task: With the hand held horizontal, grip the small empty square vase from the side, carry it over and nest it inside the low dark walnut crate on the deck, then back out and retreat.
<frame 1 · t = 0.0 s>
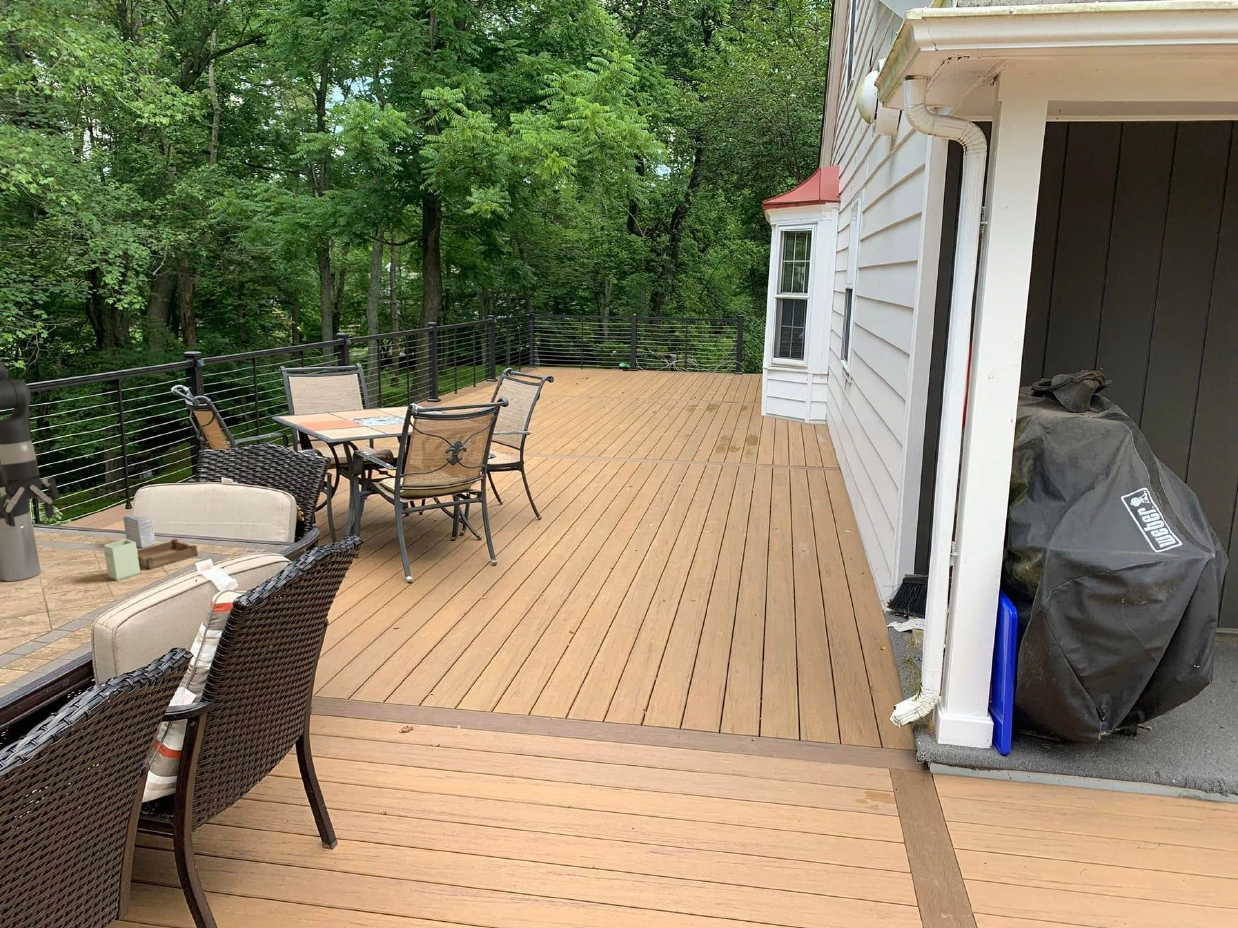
hand: (31, 522, 229), 17 cm above the table, tool pointing down, fingers open, 8 cm apart
walnut crate: (163, 558, 252), on the table
small square vase: (124, 575, 239), on the table
medicine box: (141, 545, 265), on the table
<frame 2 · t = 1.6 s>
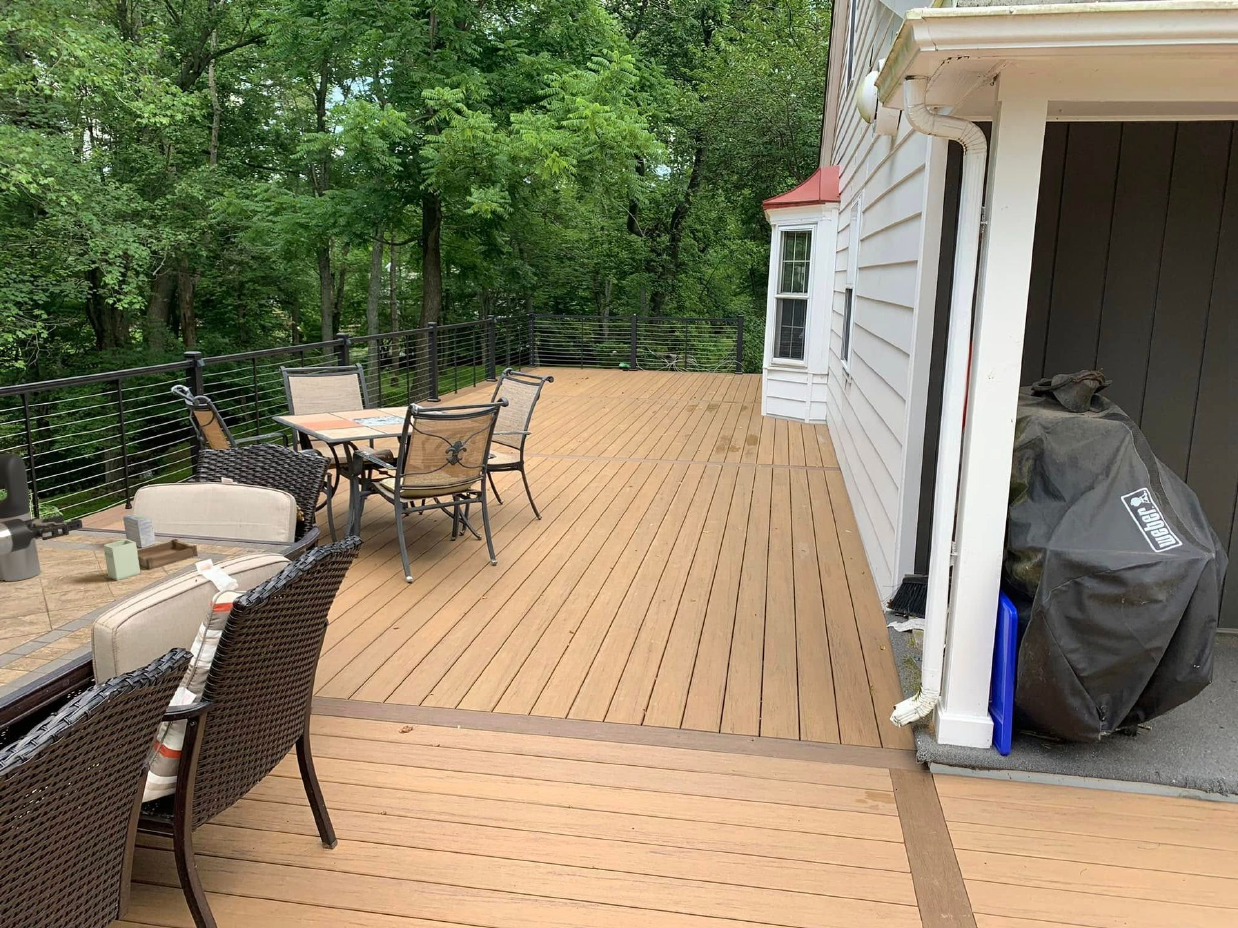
hand: (71, 521, 225), 18 cm above the table, tool horizontal, fingers open, 8 cm apart
nothing on the table moved.
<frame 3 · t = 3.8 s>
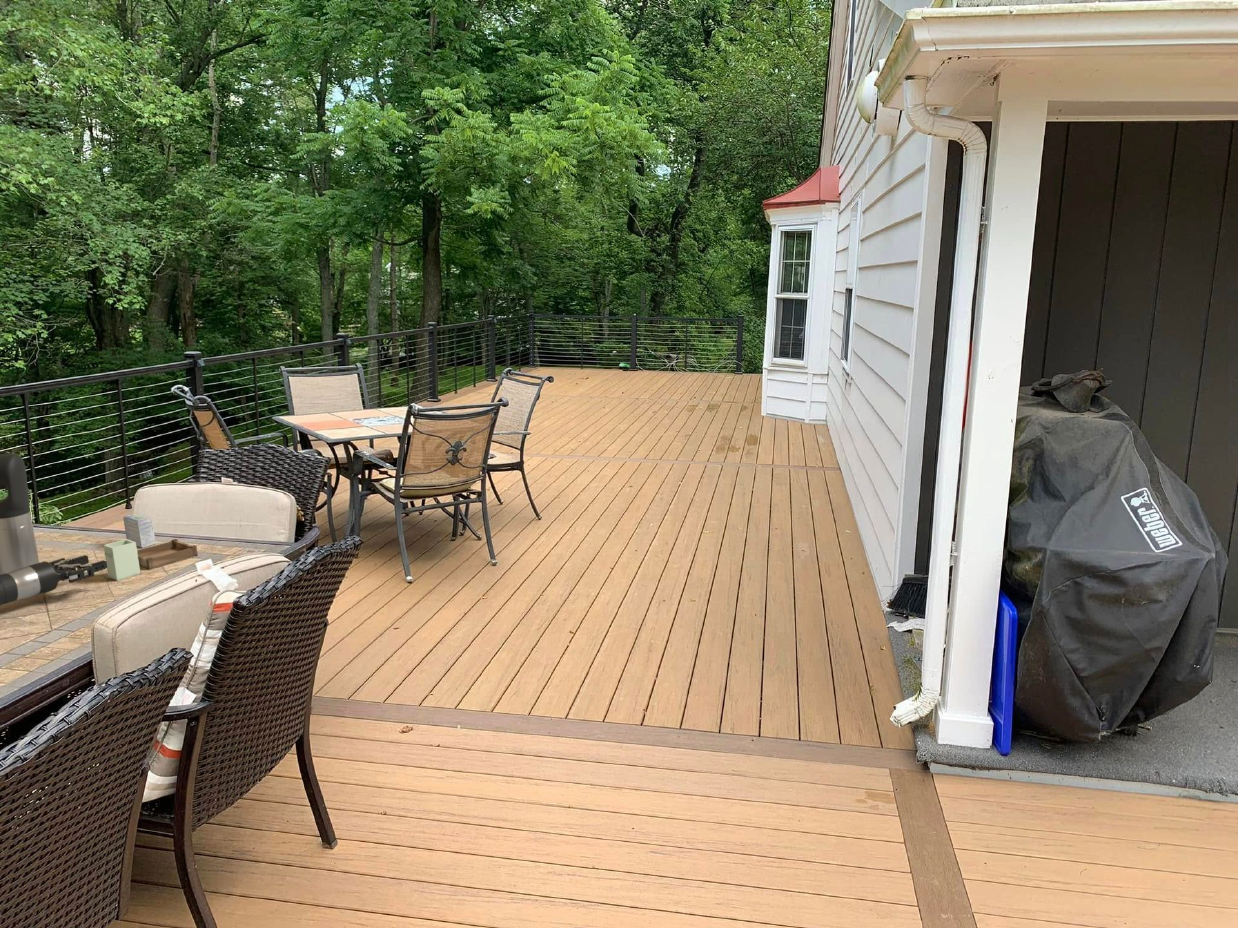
hand: (96, 561, 232), 6 cm above the table, tool horizontal, fingers open, 8 cm apart
nothing on the table moved.
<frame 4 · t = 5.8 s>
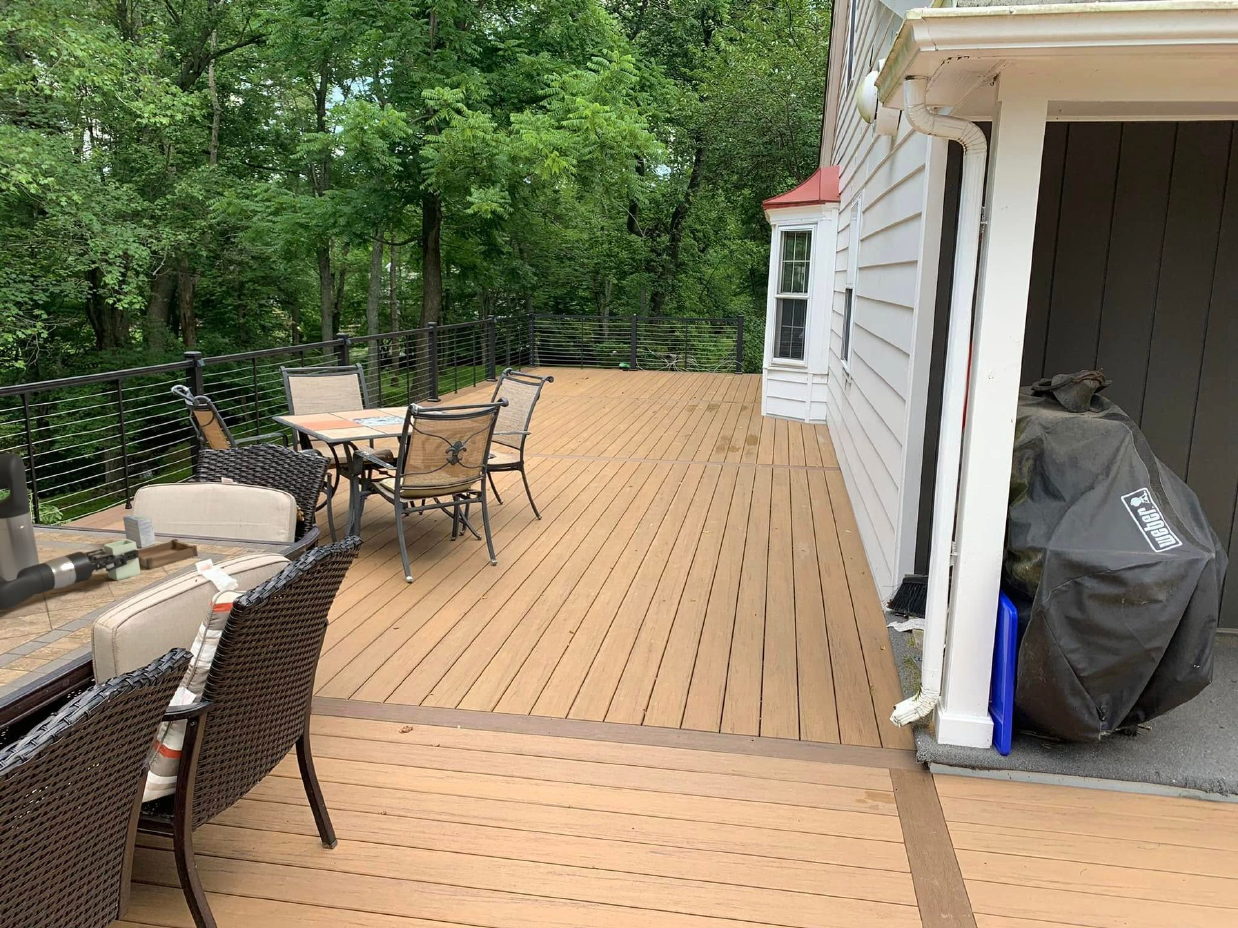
hand: (130, 551, 240), 6 cm above the table, tool horizontal, fingers closed on small square vase, 5 cm apart
small square vase: (124, 575, 239), on the table, touching gripper
everything else where it was.
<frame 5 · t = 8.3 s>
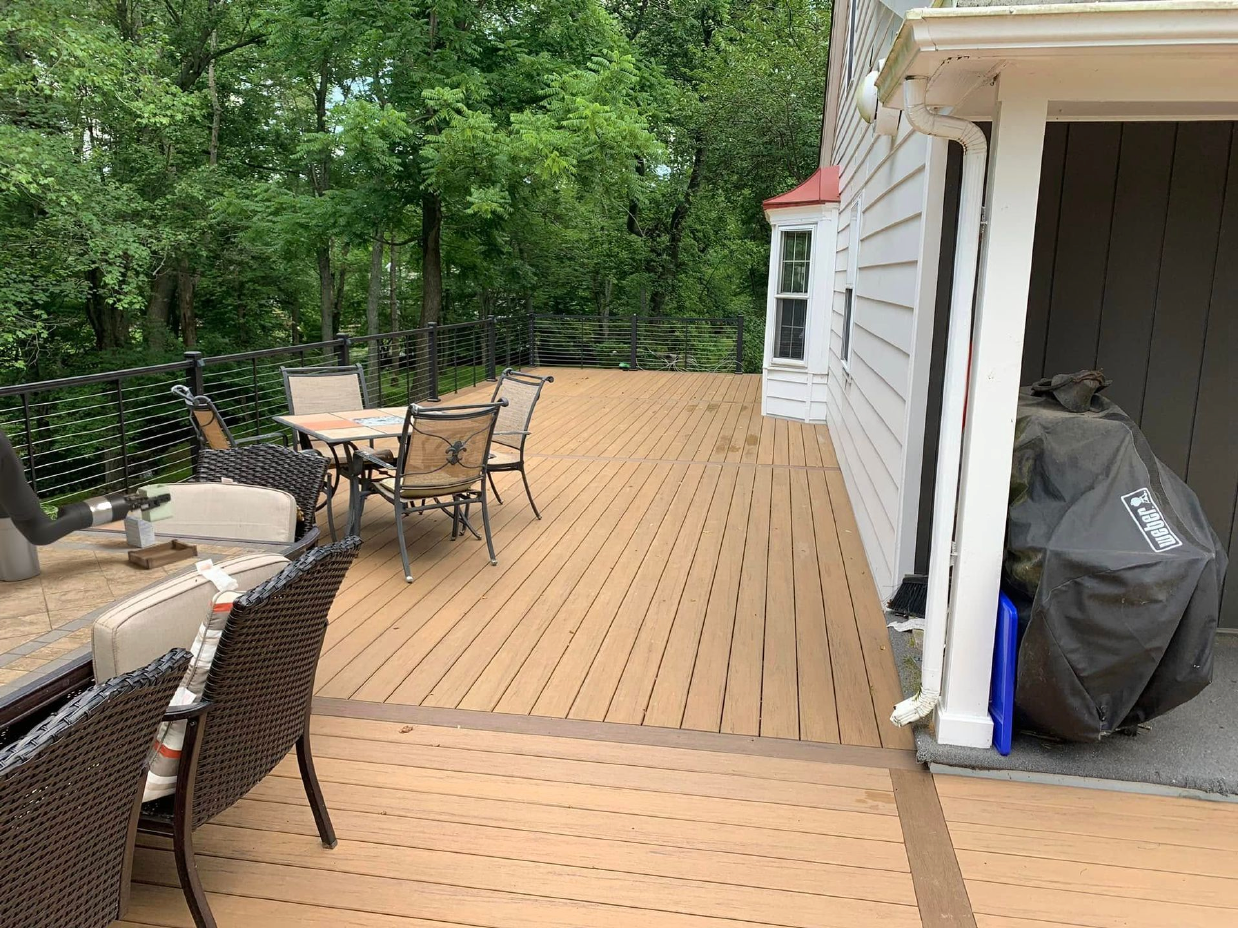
hand: (163, 495, 249), 18 cm above the table, tool horizontal, fingers closed on small square vase, 5 cm apart
small square vase: (157, 518, 249), point 12 cm above the table, touching gripper
everything else where it was.
when the fingers open (8 cm above the table, at t = 10.7 s): small square vase drops 1 cm, resting on walnut crate.
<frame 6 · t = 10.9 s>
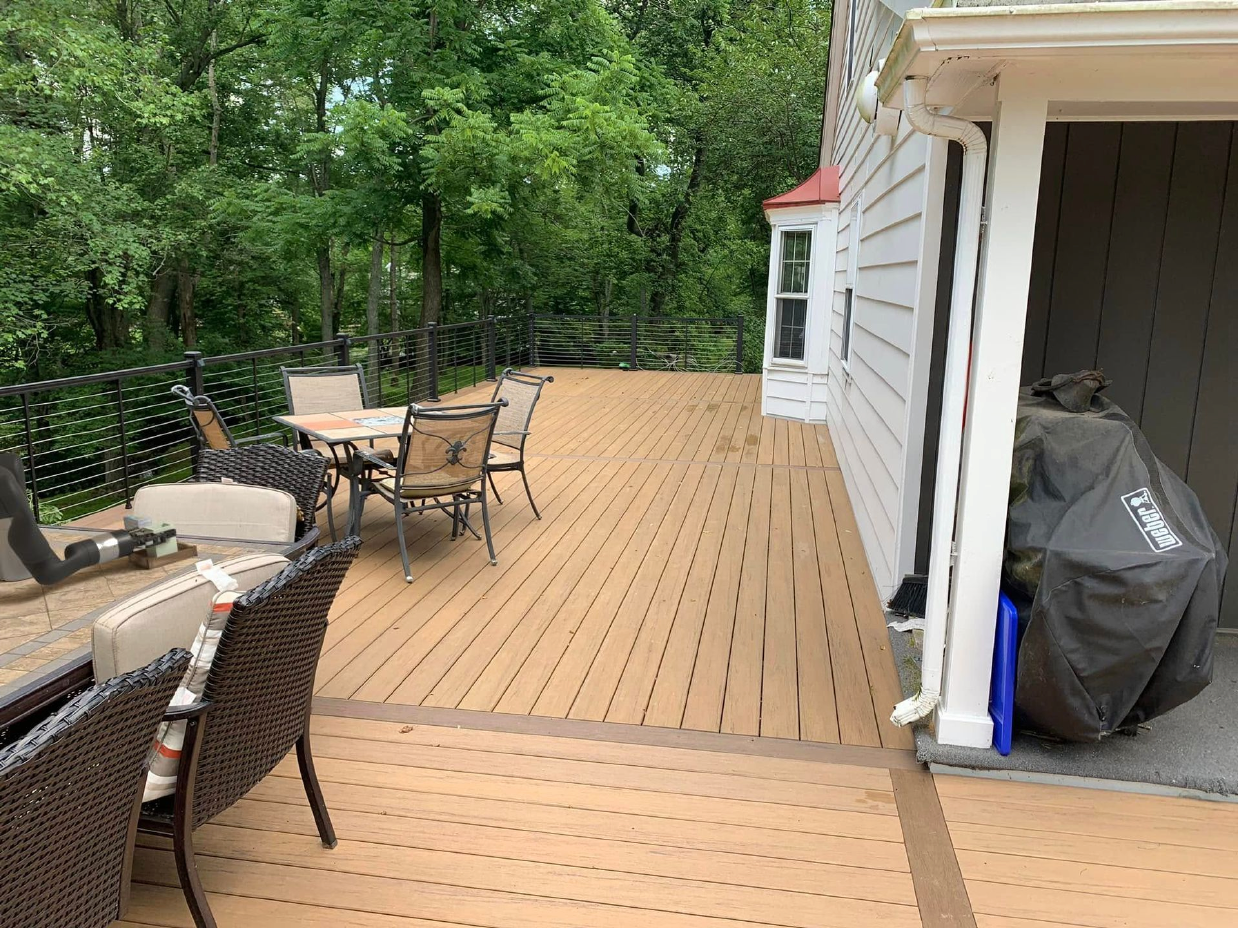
hand: (167, 530, 252), 8 cm above the table, tool horizontal, fingers open, 7 cm apart
small square vase: (163, 556, 252), point 1 cm above the table, touching walnut crate
everything else where it was.
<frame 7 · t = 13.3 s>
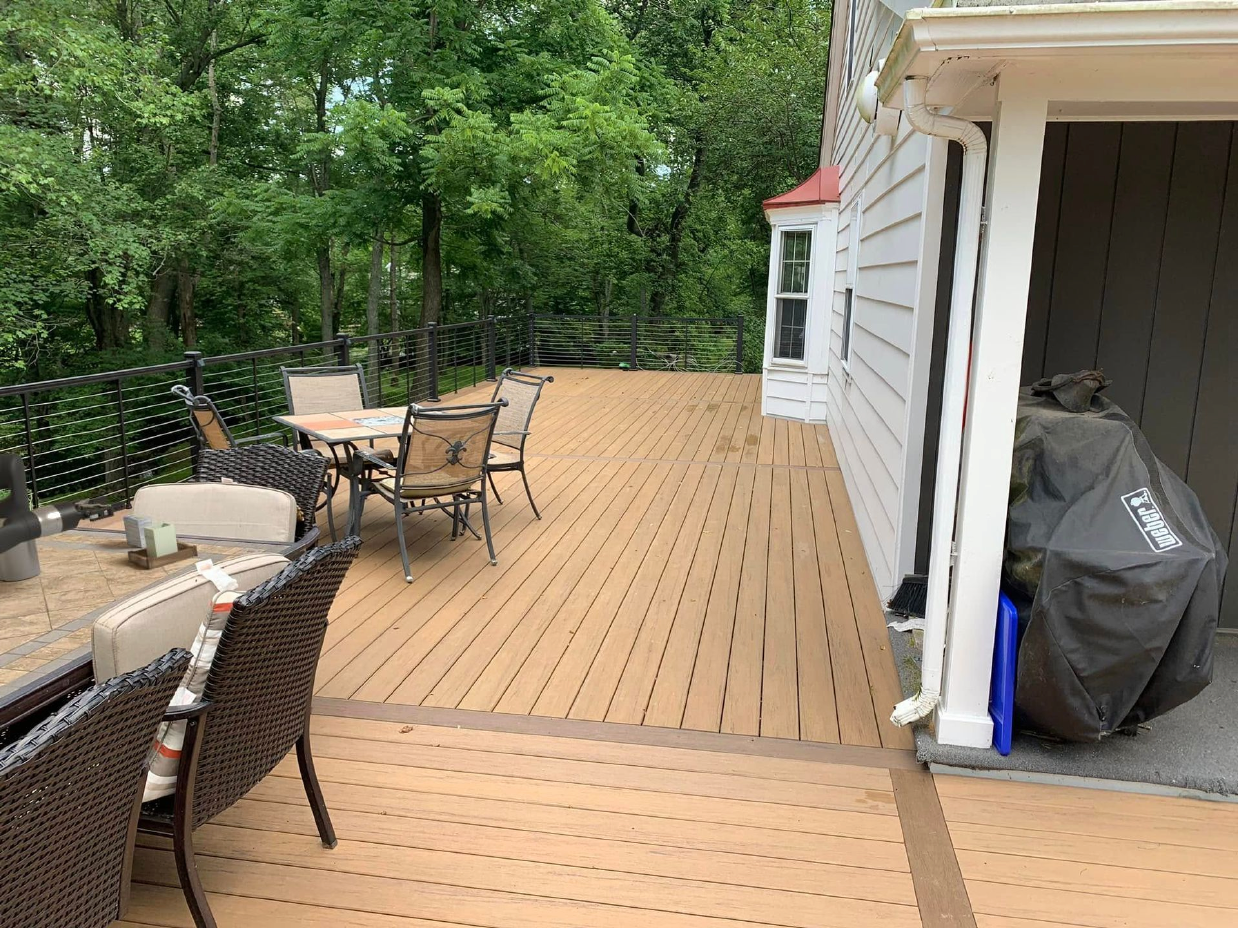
hand: (115, 502, 239), 19 cm above the table, tool horizontal, fingers open, 8 cm apart
nothing on the table moved.
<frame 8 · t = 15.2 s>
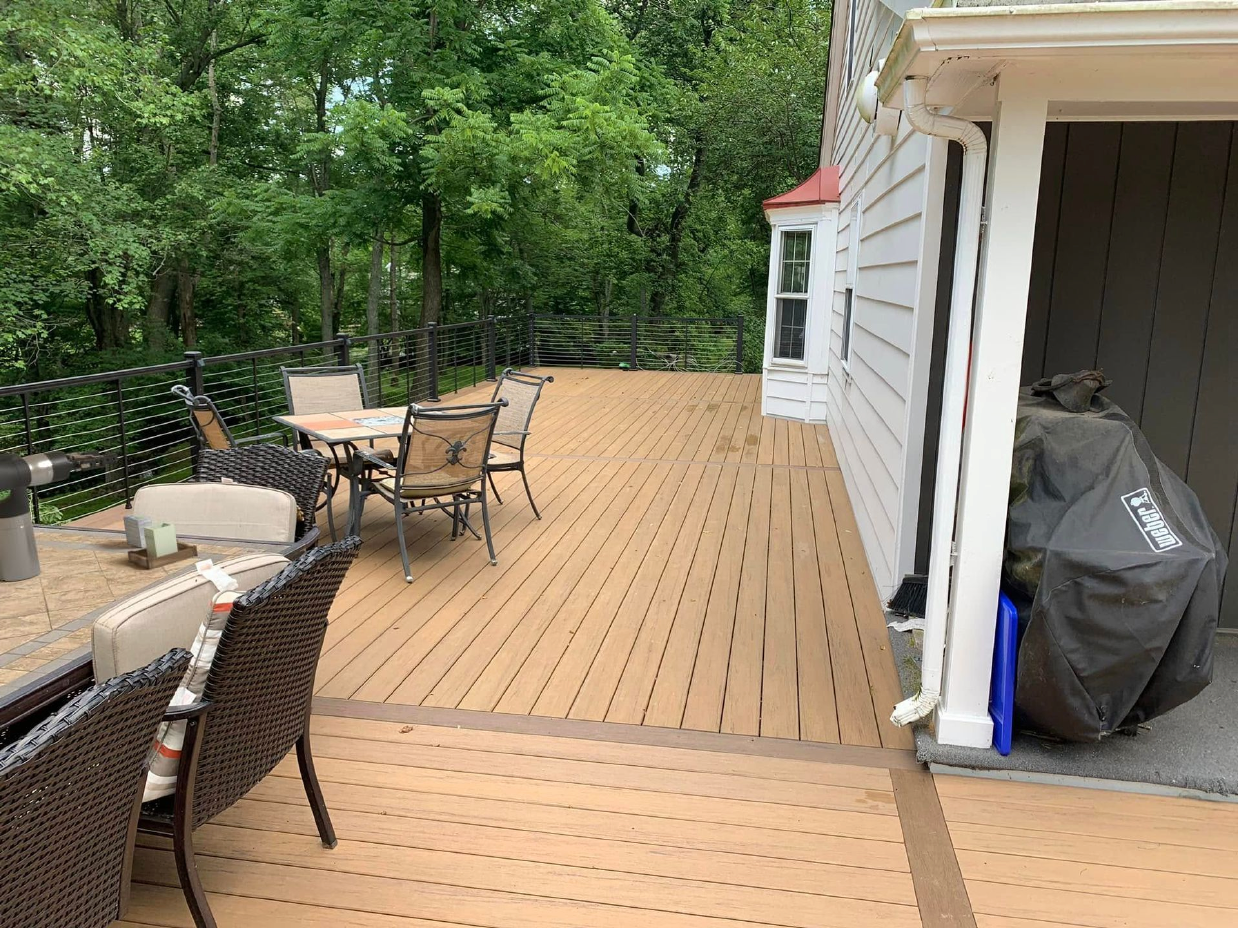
hand: (107, 455, 235), 32 cm above the table, tool horizontal, fingers open, 8 cm apart
nothing on the table moved.
at the end: small square vase inside the target area on the walnut crate (0.2 cm from its centre), point 0.6 cm above the walnut crate's base; small square vase tilted 0°; the gripper is holding nothing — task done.
